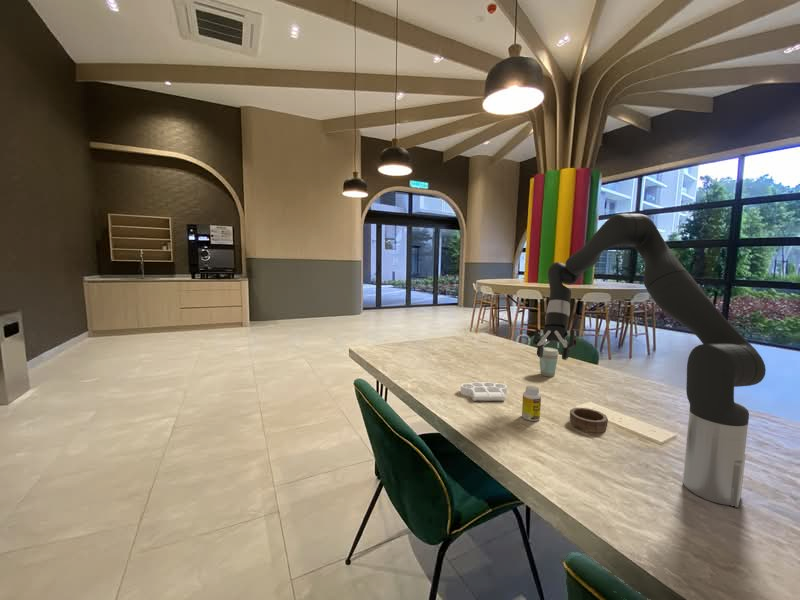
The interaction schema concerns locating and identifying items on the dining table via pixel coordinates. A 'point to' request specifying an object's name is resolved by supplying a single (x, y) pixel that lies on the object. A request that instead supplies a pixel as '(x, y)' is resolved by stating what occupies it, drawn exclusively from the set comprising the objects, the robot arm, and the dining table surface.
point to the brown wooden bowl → (588, 420)
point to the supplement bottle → (531, 403)
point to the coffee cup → (548, 361)
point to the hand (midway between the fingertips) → (551, 358)
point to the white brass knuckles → (484, 391)
